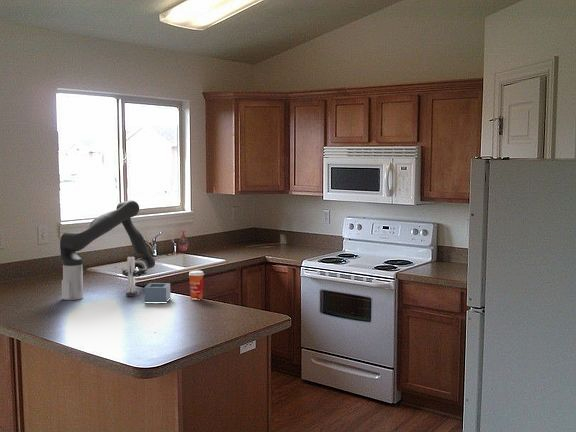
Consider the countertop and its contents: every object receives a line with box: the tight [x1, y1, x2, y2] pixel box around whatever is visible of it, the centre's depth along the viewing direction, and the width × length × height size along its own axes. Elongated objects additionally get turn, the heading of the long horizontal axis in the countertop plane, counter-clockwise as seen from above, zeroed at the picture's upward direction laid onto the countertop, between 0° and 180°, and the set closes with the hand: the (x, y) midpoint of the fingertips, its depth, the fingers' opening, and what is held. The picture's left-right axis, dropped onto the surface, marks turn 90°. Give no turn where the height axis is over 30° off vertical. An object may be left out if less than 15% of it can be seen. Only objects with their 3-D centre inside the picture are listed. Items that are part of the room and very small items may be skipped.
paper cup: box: [188, 270, 205, 300], centre depth 315 cm, size 8×8×14 cm
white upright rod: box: [125, 256, 138, 297], centre depth 320 cm, size 4×4×20 cm
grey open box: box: [143, 282, 171, 303], centre depth 310 cm, size 11×11×8 cm
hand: (129, 274), depth 317 cm, fingers closed on white upright rod, 3 cm apart
